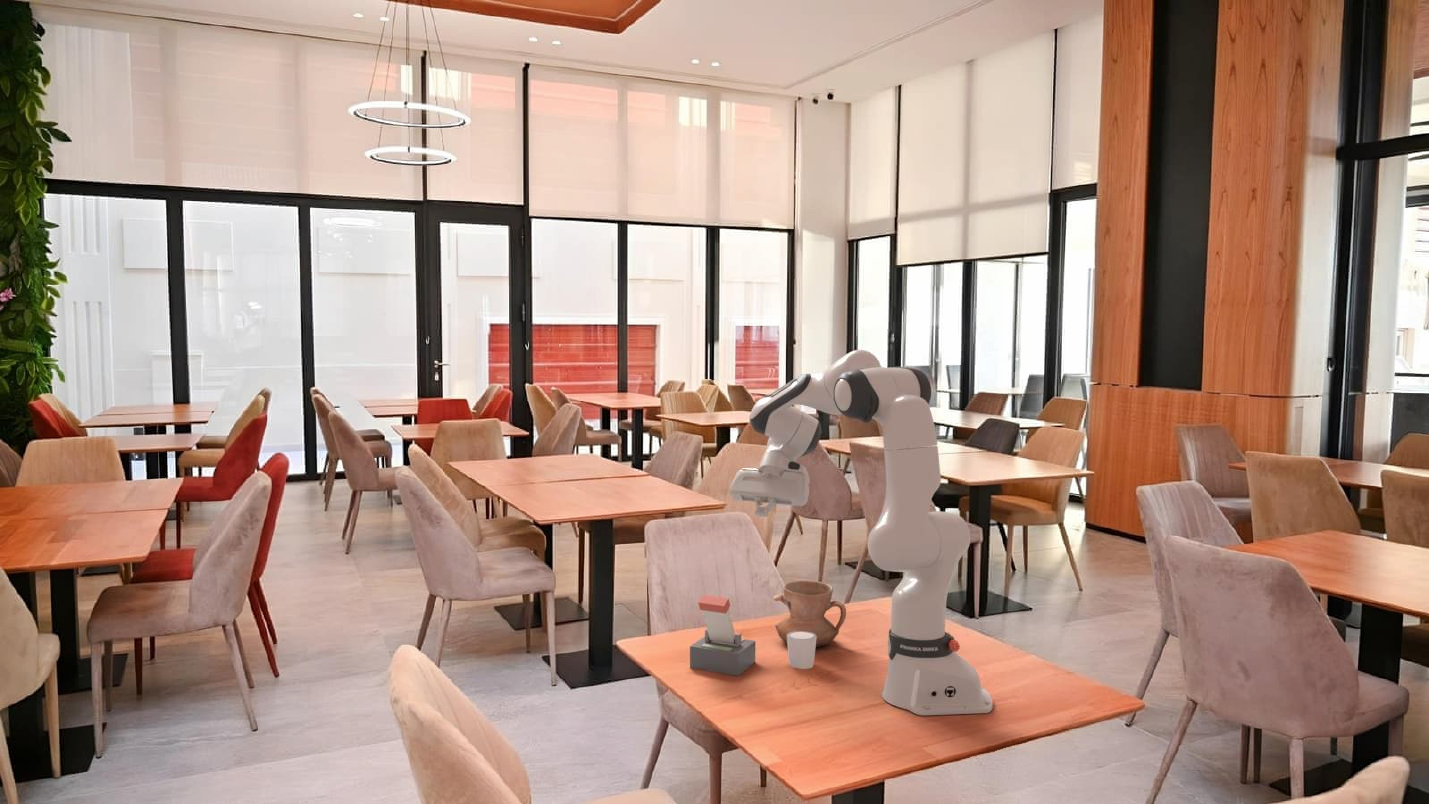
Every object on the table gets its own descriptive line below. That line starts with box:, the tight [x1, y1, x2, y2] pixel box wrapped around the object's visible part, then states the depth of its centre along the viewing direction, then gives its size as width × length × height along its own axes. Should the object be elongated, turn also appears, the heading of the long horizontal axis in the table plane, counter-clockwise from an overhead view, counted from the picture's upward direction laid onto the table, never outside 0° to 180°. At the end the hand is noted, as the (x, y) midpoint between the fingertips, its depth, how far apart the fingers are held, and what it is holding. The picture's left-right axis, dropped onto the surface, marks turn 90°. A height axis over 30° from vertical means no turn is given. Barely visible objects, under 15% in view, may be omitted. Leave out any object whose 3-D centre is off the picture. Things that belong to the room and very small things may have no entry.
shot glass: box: [786, 631, 817, 670], centre depth 221 cm, size 7×7×7 cm
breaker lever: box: [698, 594, 736, 644], centre depth 218 cm, size 3×6×13 cm, turn 65°
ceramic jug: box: [773, 579, 847, 648], centre depth 237 cm, size 18×14×14 cm
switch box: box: [689, 628, 756, 677], centre depth 221 cm, size 10×12×8 cm
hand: (761, 515), depth 237 cm, fingers closed
